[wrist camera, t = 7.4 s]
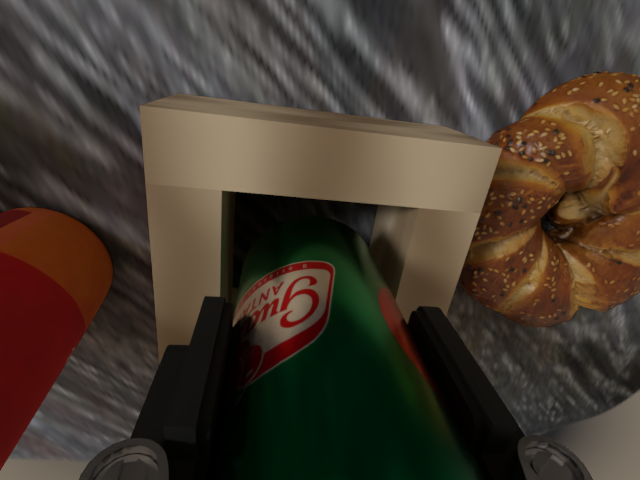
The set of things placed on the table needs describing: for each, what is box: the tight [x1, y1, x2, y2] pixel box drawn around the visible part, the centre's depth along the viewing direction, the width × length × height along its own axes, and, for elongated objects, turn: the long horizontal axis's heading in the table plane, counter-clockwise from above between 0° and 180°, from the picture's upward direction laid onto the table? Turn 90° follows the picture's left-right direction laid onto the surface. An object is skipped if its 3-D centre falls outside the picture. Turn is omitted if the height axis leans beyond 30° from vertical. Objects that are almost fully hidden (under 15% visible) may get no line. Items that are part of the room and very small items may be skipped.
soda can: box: [206, 216, 485, 480], centre depth 9 cm, size 5×5×12 cm
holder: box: [140, 94, 502, 365], centre depth 15 cm, size 11×11×4 cm
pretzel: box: [458, 71, 640, 327], centre depth 17 cm, size 12×11×4 cm
